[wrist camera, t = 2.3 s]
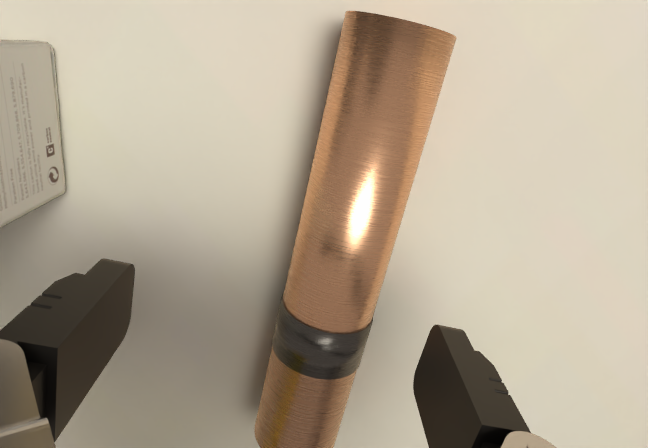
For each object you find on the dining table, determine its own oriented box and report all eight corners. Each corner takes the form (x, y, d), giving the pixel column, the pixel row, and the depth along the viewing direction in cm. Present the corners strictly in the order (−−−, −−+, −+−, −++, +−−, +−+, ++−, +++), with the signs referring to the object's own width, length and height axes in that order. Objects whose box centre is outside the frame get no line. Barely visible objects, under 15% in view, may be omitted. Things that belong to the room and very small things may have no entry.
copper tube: (320, 4, 14) (422, 20, 12) (384, 29, 17) (476, 44, 15) (236, 425, 20) (295, 484, 18) (294, 391, 23) (351, 439, 21)
